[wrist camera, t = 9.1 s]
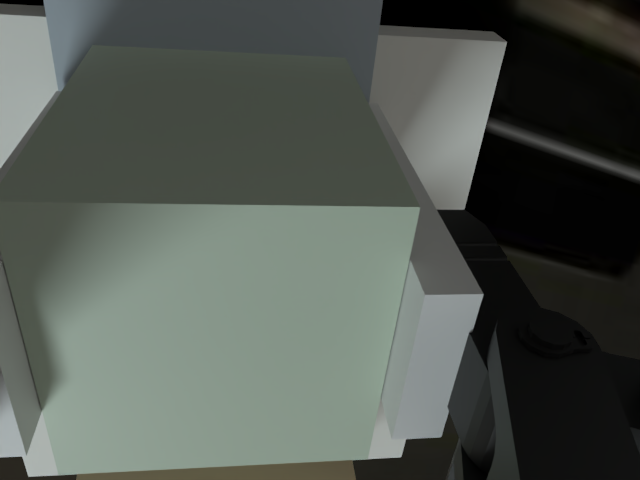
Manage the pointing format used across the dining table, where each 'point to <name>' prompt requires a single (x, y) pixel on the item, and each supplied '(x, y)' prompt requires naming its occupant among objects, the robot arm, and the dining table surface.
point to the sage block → (207, 260)
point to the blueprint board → (271, 38)
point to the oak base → (240, 472)
